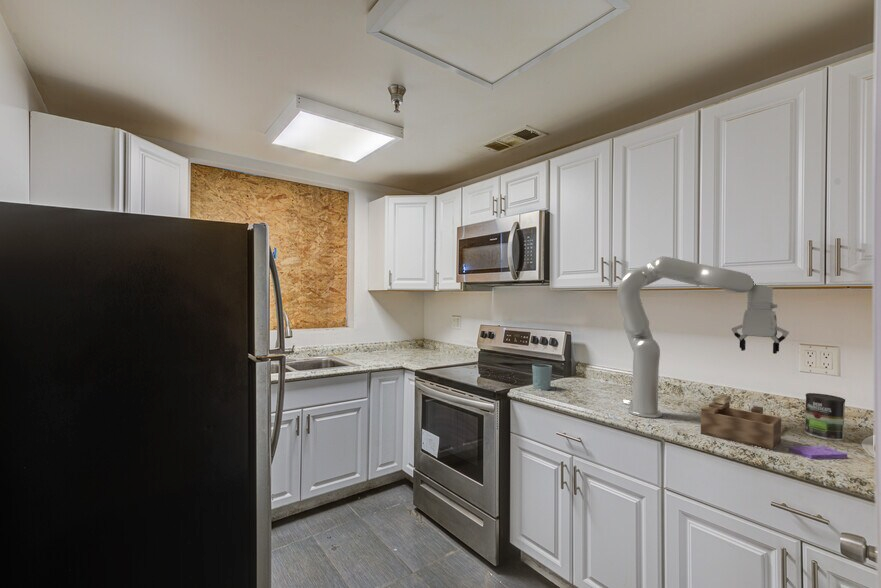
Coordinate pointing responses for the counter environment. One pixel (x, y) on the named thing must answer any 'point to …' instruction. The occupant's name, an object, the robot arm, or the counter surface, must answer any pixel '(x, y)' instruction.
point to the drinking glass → (541, 376)
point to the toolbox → (740, 426)
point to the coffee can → (825, 416)
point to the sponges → (817, 452)
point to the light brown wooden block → (721, 399)
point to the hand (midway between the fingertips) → (758, 351)
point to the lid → (760, 411)
